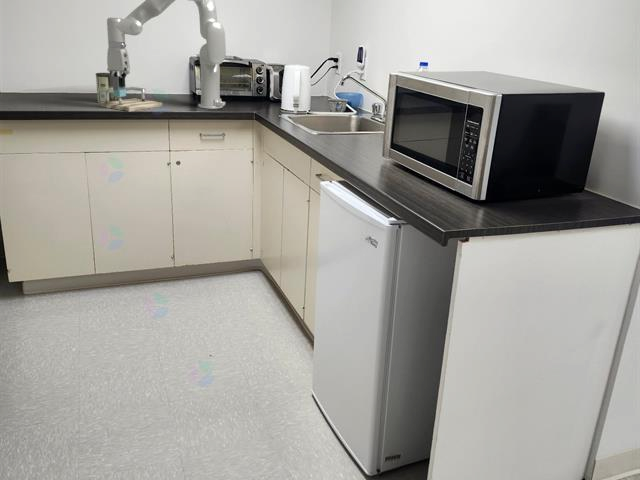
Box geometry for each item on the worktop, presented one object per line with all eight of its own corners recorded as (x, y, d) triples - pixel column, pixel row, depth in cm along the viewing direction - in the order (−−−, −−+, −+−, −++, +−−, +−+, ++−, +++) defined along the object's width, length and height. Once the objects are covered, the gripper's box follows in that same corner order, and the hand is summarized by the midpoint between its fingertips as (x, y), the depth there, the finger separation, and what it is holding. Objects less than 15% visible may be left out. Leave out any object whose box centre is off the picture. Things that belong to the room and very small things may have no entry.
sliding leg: (127, 103, 284) (125, 76, 280) (119, 104, 280) (117, 77, 275) (120, 102, 286) (119, 75, 281) (113, 103, 282) (111, 76, 277)
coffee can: (118, 100, 306) (116, 72, 301) (119, 103, 297) (117, 75, 292) (97, 100, 302) (95, 72, 297) (97, 103, 293) (95, 74, 288)
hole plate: (162, 106, 297) (162, 102, 296) (129, 111, 277) (129, 107, 276) (134, 102, 304) (134, 98, 303) (101, 106, 284) (100, 102, 284)
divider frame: (146, 101, 297) (145, 88, 295) (116, 105, 280) (116, 91, 278) (134, 99, 300) (133, 86, 298) (104, 103, 283) (103, 90, 281)
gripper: (136, 47, 273) (137, 87, 280) (109, 44, 280) (112, 83, 286) (124, 47, 267) (126, 88, 274) (97, 44, 273) (100, 84, 280)
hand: (119, 85), depth 280 cm, fingers closed on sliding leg, 3 cm apart
